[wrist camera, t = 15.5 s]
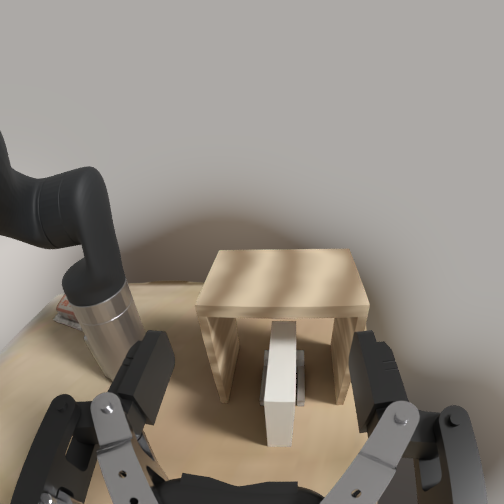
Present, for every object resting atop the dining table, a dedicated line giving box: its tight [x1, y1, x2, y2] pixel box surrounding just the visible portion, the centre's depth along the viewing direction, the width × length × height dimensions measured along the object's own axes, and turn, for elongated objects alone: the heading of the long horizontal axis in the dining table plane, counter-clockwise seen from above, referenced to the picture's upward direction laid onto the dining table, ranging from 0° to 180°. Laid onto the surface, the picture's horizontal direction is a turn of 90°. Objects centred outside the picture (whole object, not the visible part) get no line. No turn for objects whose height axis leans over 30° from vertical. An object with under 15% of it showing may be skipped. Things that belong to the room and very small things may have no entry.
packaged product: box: [53, 294, 83, 331], centre depth 55 cm, size 18×5×10 cm
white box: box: [264, 321, 296, 447], centre depth 32 cm, size 3×12×12 cm, turn 174°
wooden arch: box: [195, 249, 370, 406], centre depth 37 cm, size 18×12×18 cm
